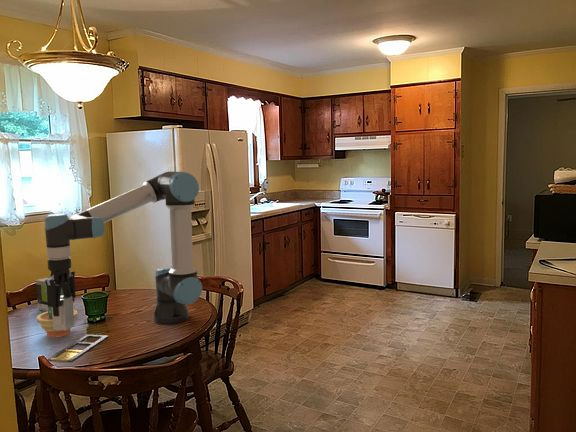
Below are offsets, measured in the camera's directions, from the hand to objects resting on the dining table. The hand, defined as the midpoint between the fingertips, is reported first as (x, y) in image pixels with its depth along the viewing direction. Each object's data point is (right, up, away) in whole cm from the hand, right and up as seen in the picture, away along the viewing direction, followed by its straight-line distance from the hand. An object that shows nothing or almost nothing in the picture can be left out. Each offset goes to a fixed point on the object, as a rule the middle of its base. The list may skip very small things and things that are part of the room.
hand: (63, 321), depth 174 cm
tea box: (-30, -7, +57) cm, 65 cm away
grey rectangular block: (0, -2, 0) cm, 2 cm away
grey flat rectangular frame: (+2, -12, +9) cm, 15 cm away
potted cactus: (-13, -10, +25) cm, 30 cm away
